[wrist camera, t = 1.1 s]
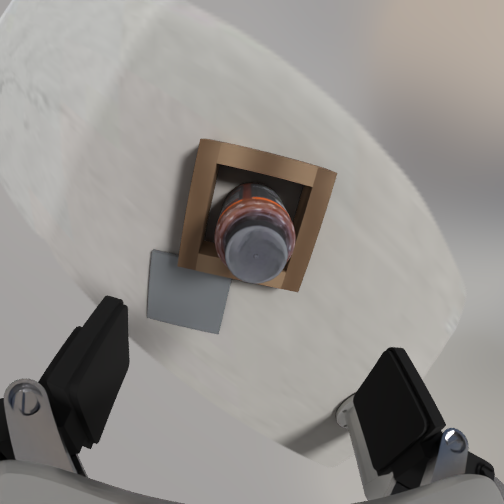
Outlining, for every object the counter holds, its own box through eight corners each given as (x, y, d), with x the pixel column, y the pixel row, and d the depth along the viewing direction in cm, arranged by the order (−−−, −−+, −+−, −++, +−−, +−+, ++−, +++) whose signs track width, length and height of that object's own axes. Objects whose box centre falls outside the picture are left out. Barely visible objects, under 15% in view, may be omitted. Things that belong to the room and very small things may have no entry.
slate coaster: (234, 267, 30) (233, 269, 30) (218, 331, 34) (218, 334, 33) (153, 249, 29) (152, 251, 29) (148, 314, 33) (147, 317, 32)
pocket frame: (326, 168, 26) (337, 173, 23) (293, 275, 31) (297, 292, 28) (206, 138, 25) (200, 138, 22) (184, 252, 30) (177, 266, 26)
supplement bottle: (217, 231, 29) (199, 286, 18) (230, 174, 27) (218, 198, 16) (273, 244, 29) (286, 305, 19) (290, 190, 27) (315, 223, 17)
